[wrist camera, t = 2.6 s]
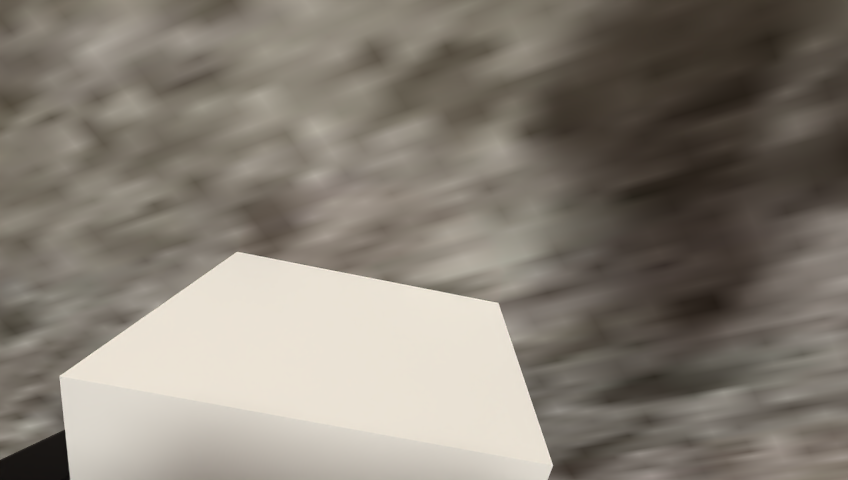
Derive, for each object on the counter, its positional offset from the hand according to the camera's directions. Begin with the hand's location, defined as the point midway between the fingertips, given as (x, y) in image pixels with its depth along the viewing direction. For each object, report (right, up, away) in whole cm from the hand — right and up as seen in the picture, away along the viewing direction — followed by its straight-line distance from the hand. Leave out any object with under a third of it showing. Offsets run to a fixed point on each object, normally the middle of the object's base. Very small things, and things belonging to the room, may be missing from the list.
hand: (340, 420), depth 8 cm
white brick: (0, 0, +1) cm, 1 cm away
